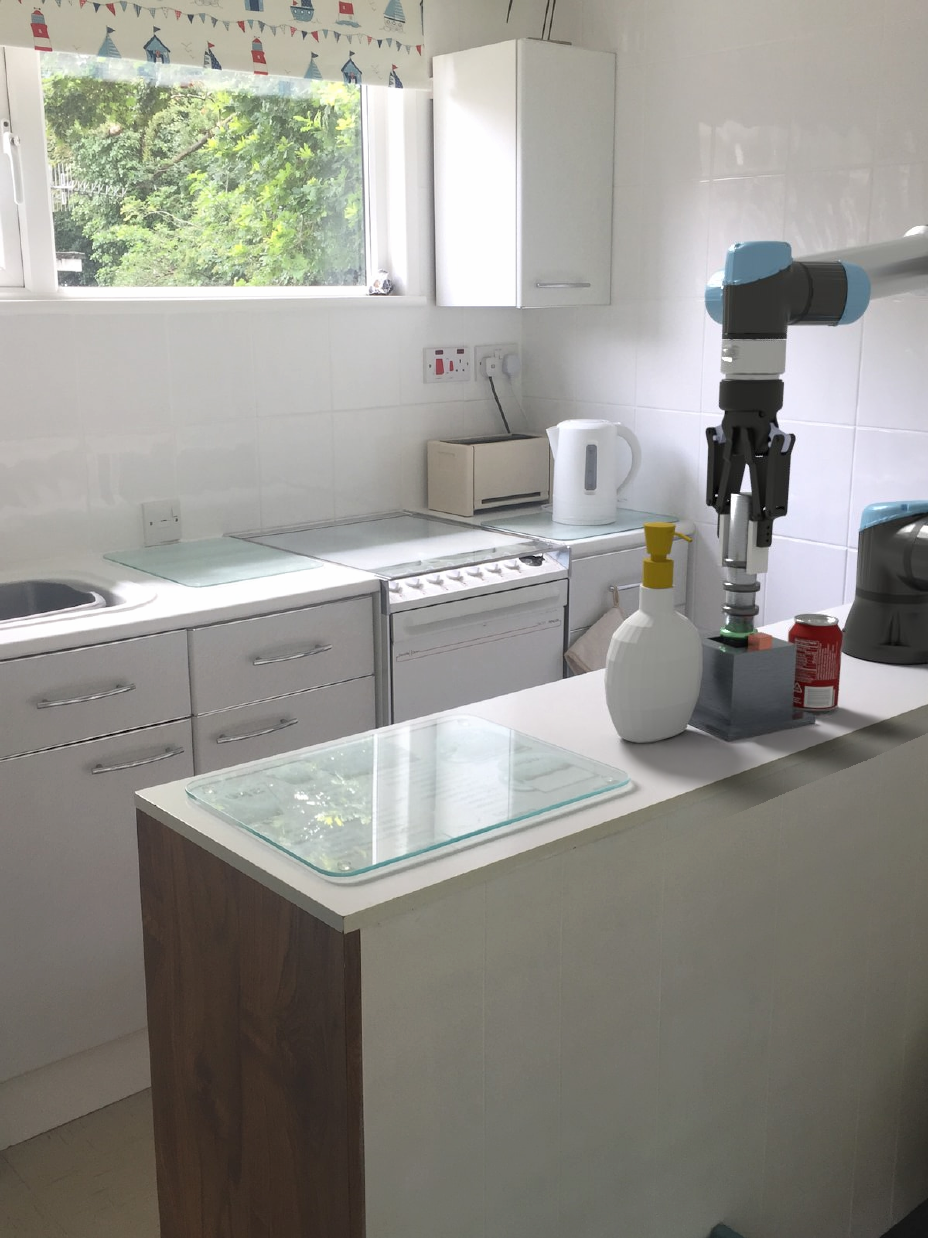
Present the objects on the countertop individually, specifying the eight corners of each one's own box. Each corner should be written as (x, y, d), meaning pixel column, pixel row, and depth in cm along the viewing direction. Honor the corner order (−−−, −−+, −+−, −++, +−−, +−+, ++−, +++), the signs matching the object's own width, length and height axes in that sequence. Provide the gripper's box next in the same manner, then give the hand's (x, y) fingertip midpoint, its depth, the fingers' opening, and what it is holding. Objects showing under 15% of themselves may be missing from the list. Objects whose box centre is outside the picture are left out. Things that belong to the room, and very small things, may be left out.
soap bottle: (639, 758, 139) (646, 534, 133) (585, 738, 146) (590, 524, 140) (722, 734, 147) (733, 522, 141) (668, 715, 154) (676, 513, 148)
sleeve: (739, 694, 163) (744, 610, 160) (815, 723, 151) (821, 633, 148) (656, 709, 157) (659, 623, 154) (728, 741, 145) (733, 647, 142)
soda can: (839, 717, 153) (846, 625, 151) (784, 714, 155) (790, 623, 152) (834, 701, 160) (841, 613, 157) (782, 698, 161) (787, 611, 158)
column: (739, 651, 155) (747, 490, 150) (764, 659, 151) (773, 495, 146) (711, 656, 153) (719, 493, 148) (735, 664, 149) (744, 497, 144)
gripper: (680, 375, 150) (673, 560, 155) (779, 380, 135) (768, 585, 140) (727, 374, 153) (719, 555, 159) (829, 378, 138) (816, 578, 144)
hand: (742, 568), depth 149 cm, fingers closed on column, 5 cm apart
